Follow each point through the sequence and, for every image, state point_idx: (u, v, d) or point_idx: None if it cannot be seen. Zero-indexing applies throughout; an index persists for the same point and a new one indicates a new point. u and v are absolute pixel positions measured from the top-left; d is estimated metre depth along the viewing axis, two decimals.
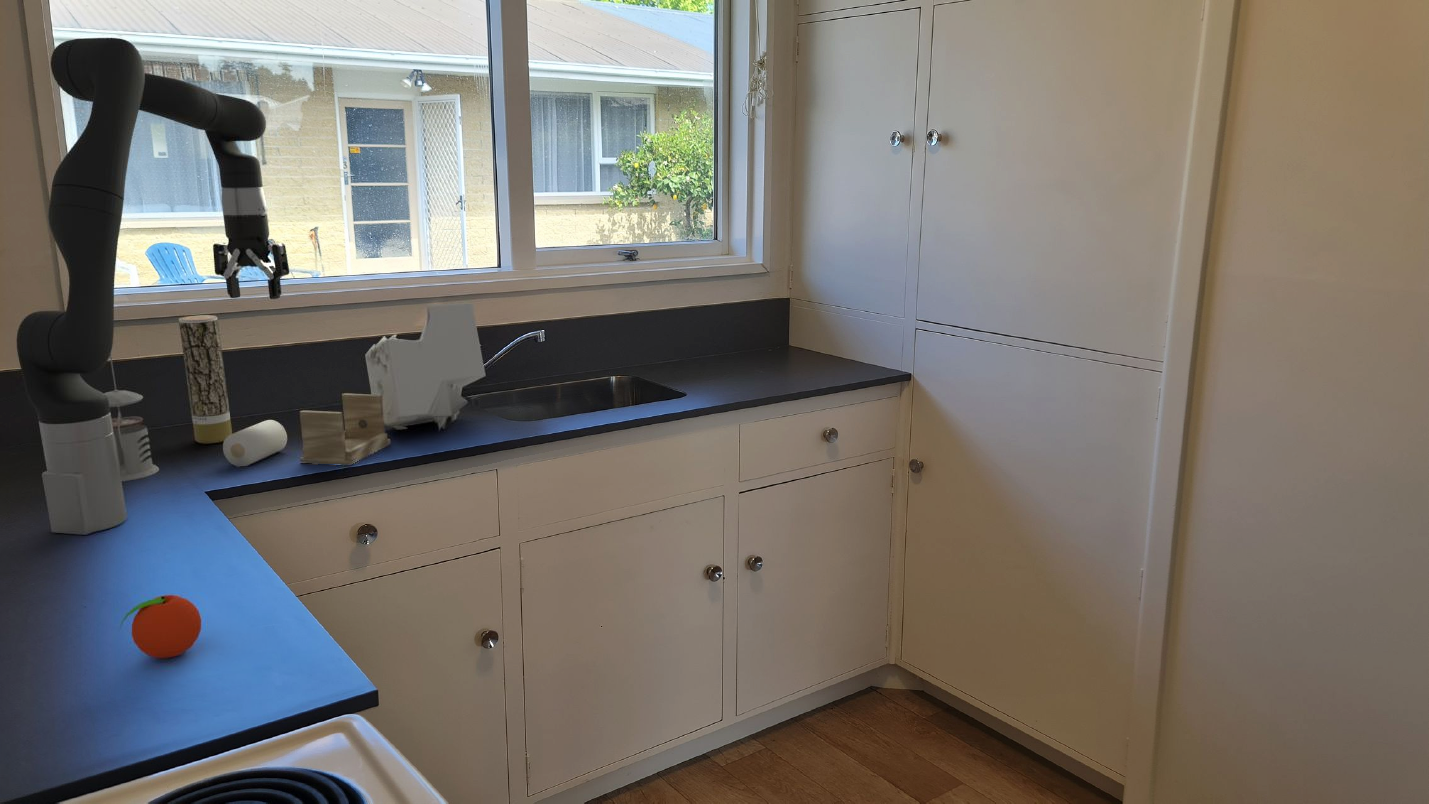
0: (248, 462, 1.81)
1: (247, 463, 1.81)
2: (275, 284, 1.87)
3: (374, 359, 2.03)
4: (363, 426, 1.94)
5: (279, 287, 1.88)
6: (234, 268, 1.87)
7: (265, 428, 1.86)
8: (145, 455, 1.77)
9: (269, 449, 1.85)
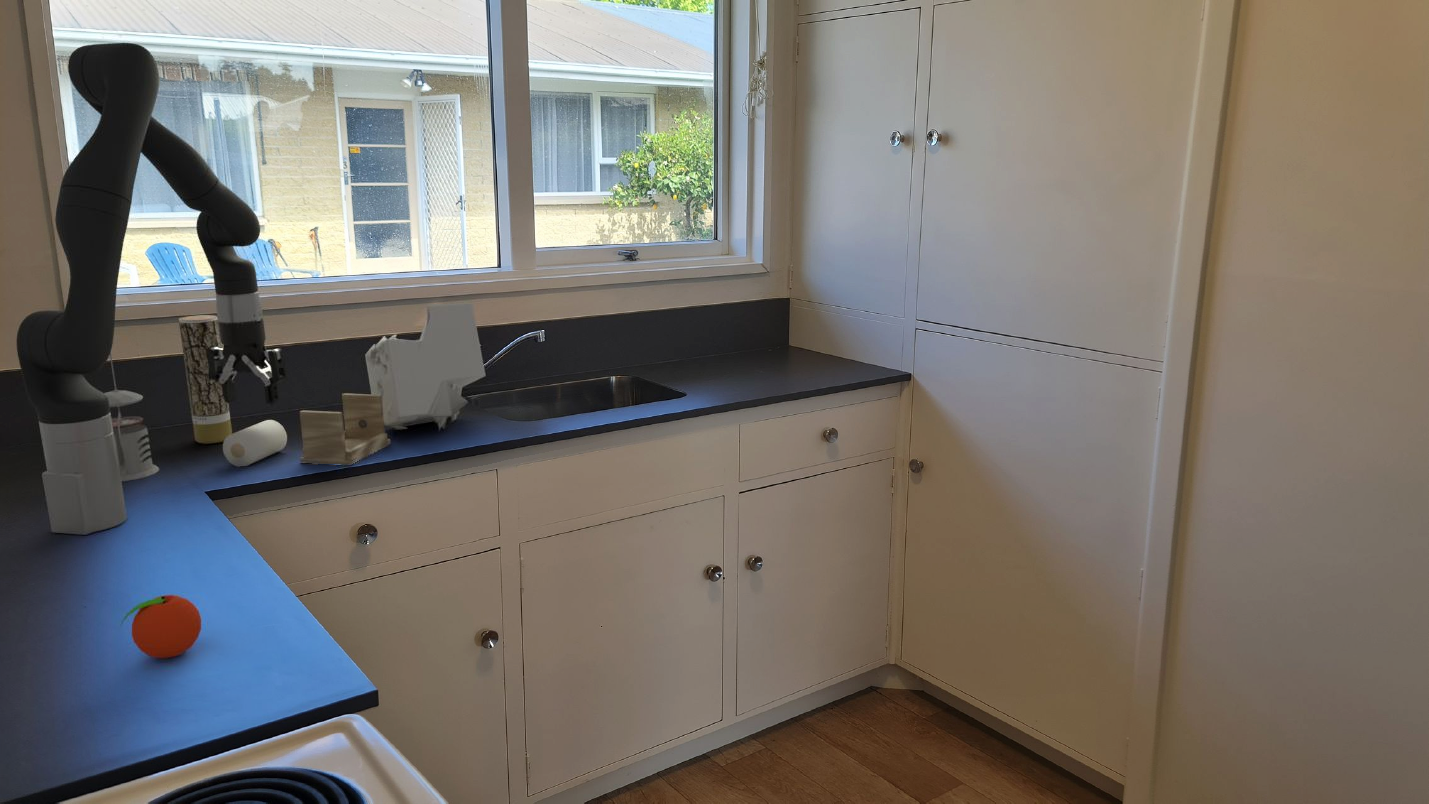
0: (248, 462, 1.81)
1: (247, 463, 1.81)
2: (272, 390, 1.82)
3: (374, 359, 2.03)
4: (363, 426, 1.94)
5: (276, 392, 1.83)
6: (230, 373, 1.82)
7: (265, 428, 1.86)
8: (145, 455, 1.77)
9: (269, 449, 1.85)
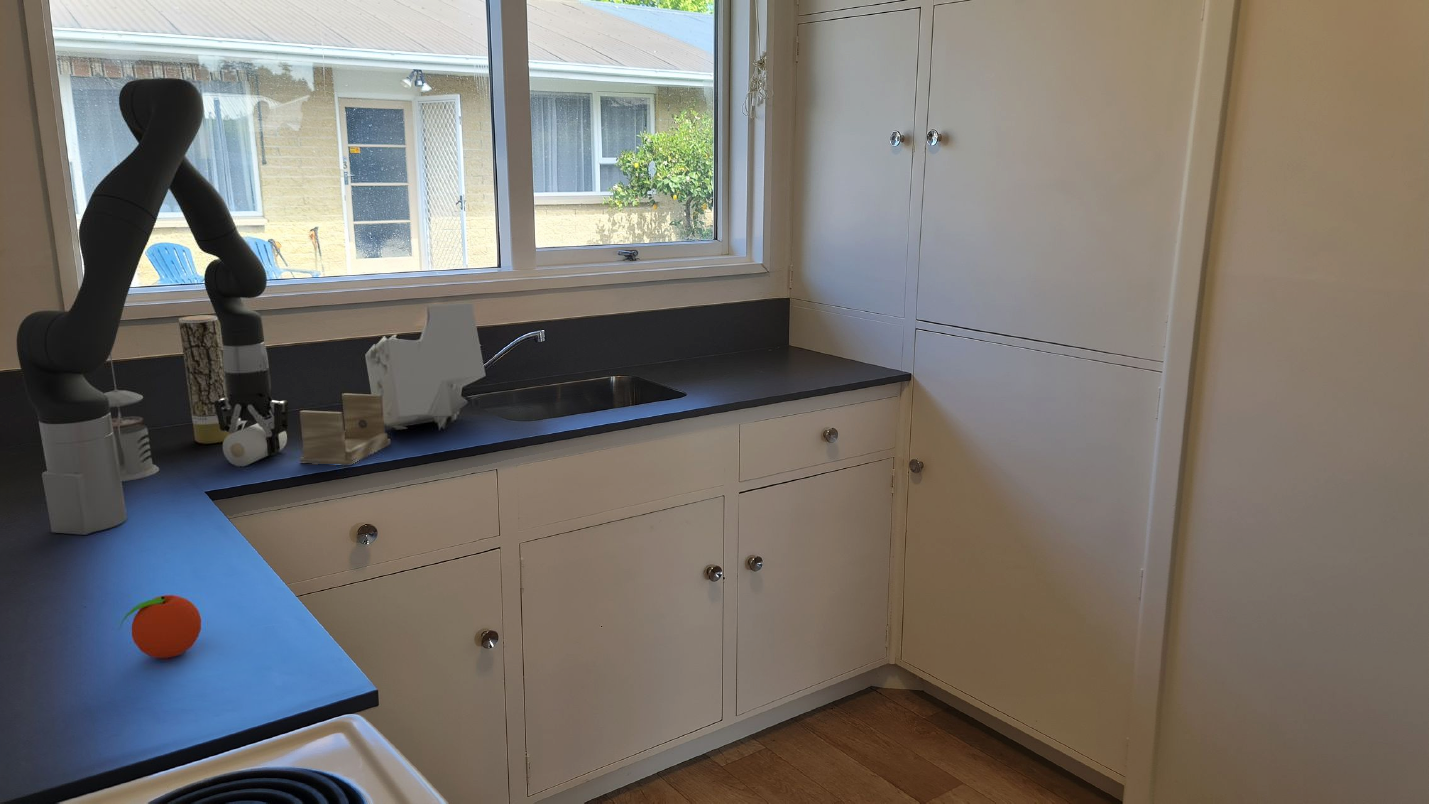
0: (248, 461, 1.81)
1: (247, 462, 1.81)
2: (273, 441, 1.84)
3: (374, 359, 2.03)
4: (363, 426, 1.94)
5: (277, 443, 1.85)
6: (238, 423, 1.84)
7: None
8: (145, 455, 1.77)
9: None
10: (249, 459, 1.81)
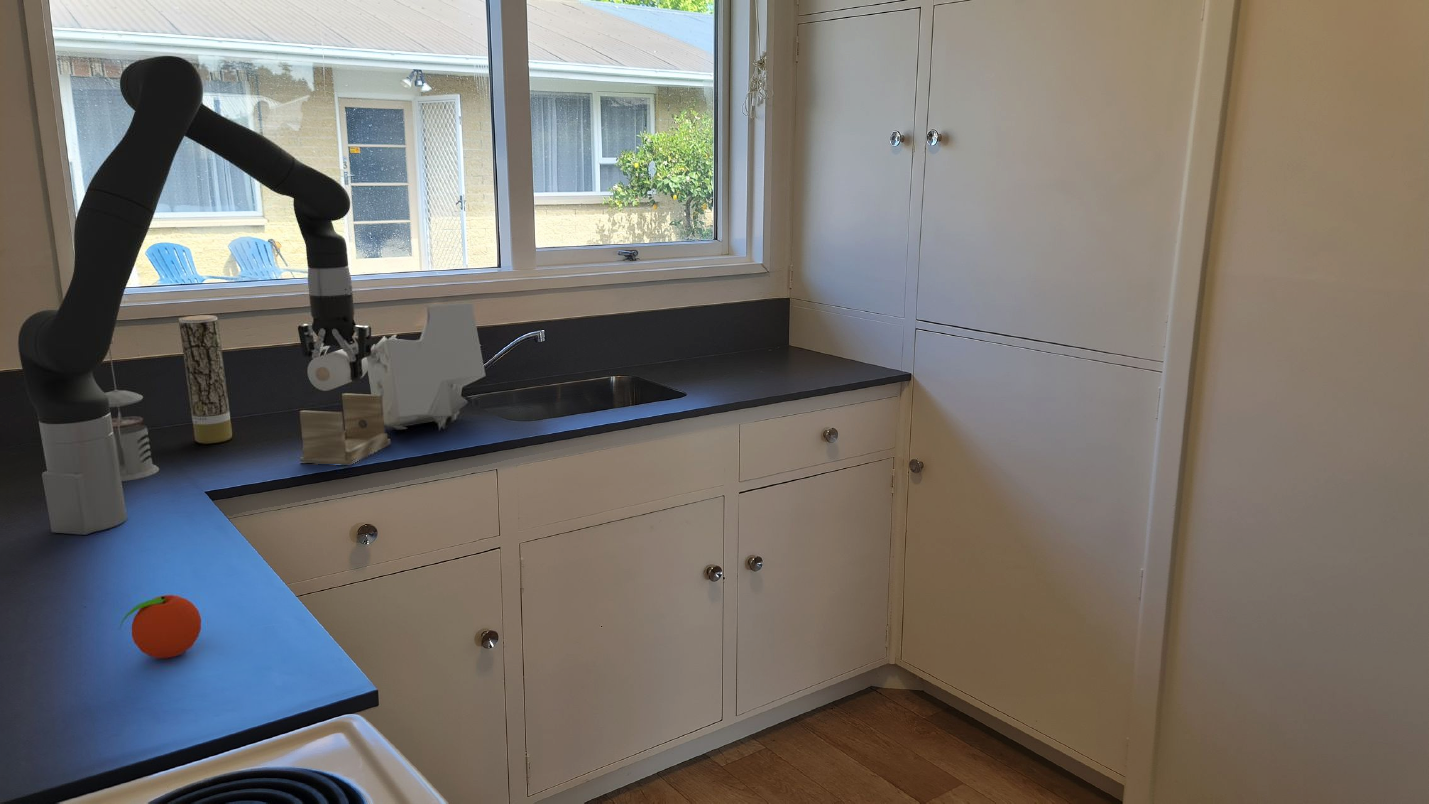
0: (333, 385, 1.81)
1: (332, 387, 1.81)
2: (357, 366, 1.84)
3: (374, 359, 2.03)
4: (363, 426, 1.94)
5: (360, 369, 1.85)
6: (321, 348, 1.84)
7: None
8: (145, 455, 1.77)
9: None
10: (334, 383, 1.81)
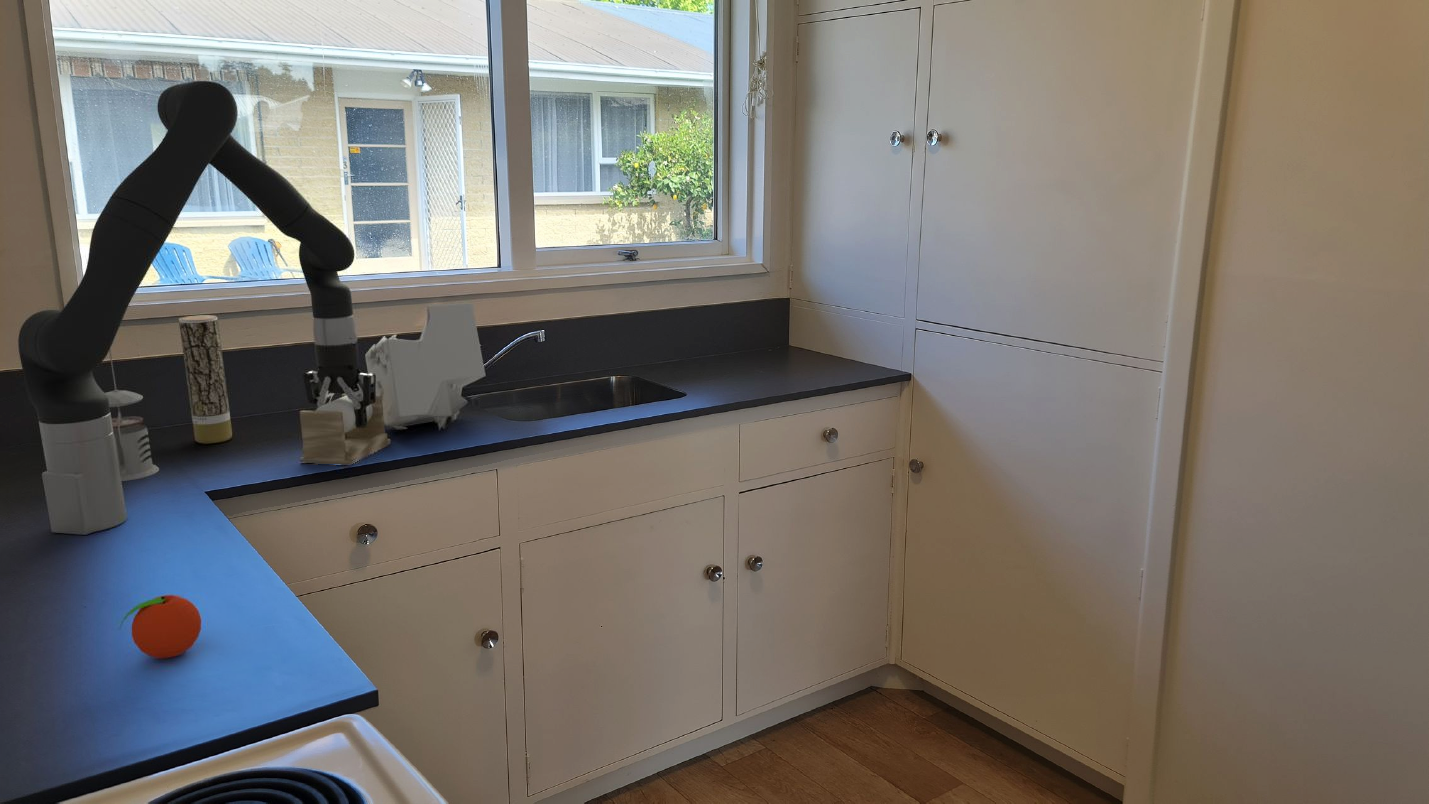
0: None
1: None
2: (362, 413, 1.86)
3: (374, 359, 2.03)
4: None
5: (365, 415, 1.87)
6: (326, 396, 1.86)
7: None
8: (145, 455, 1.77)
9: None
10: None
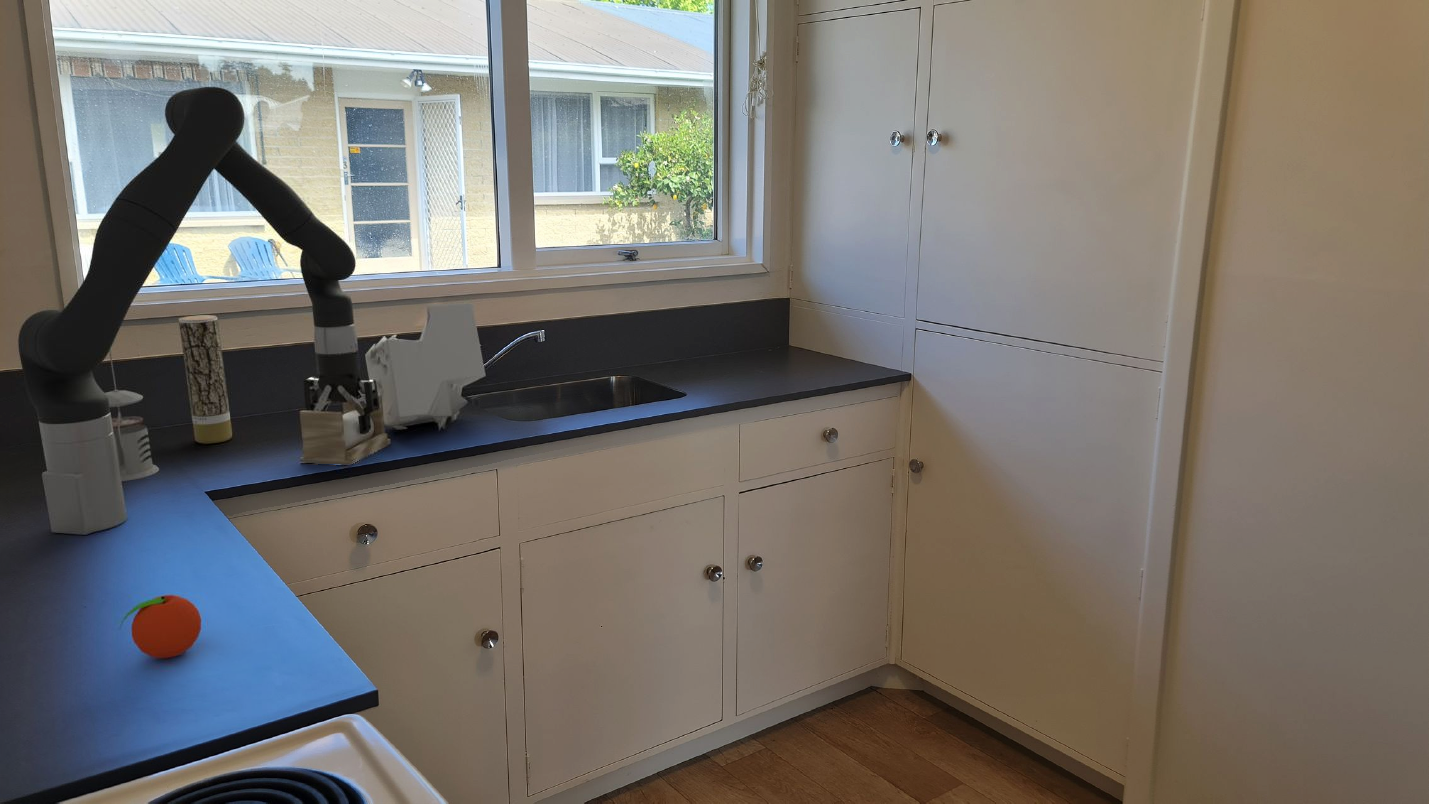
0: None
1: None
2: (365, 420, 1.86)
3: (374, 359, 2.03)
4: None
5: (369, 422, 1.87)
6: (325, 403, 1.87)
7: (354, 418, 1.88)
8: (145, 455, 1.77)
9: (358, 438, 1.88)
10: None
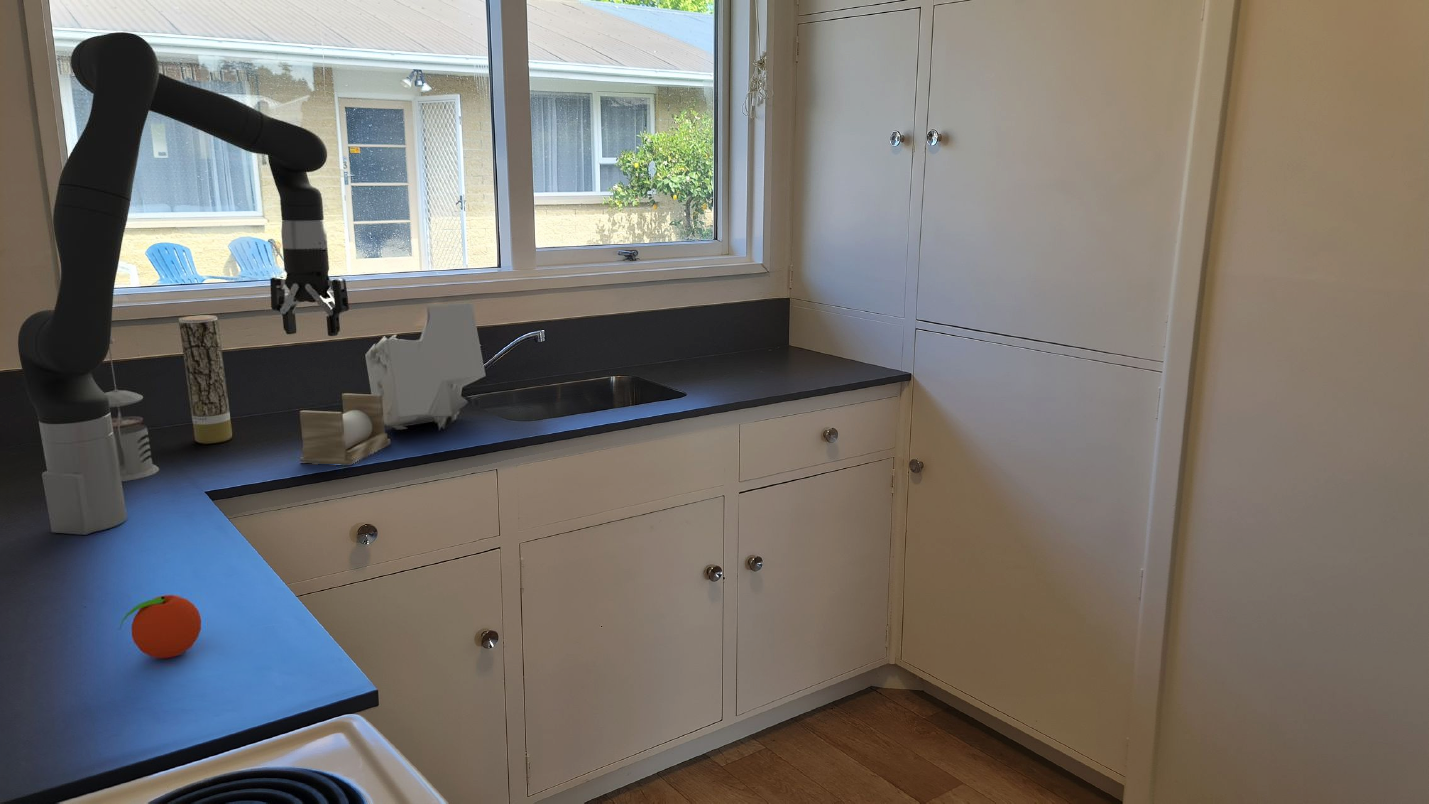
0: None
1: None
2: (334, 321, 1.79)
3: (374, 359, 2.03)
4: None
5: (338, 324, 1.80)
6: (291, 303, 1.80)
7: (351, 417, 1.89)
8: (145, 455, 1.77)
9: (357, 436, 1.88)
10: None
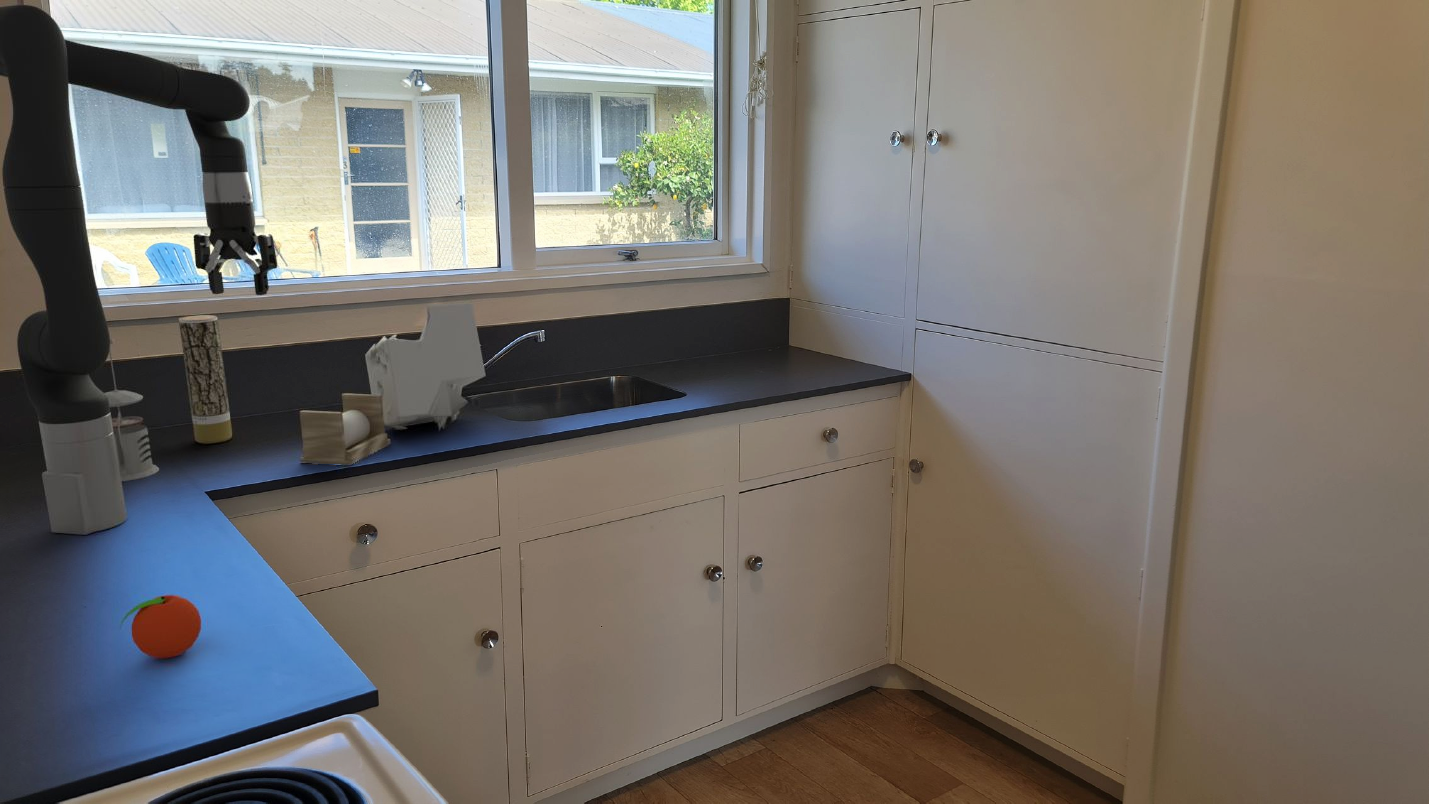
0: None
1: None
2: (262, 279, 1.70)
3: (374, 359, 2.03)
4: None
5: (266, 282, 1.71)
6: (217, 261, 1.71)
7: (347, 415, 1.89)
8: (145, 455, 1.77)
9: (354, 434, 1.88)
10: None
